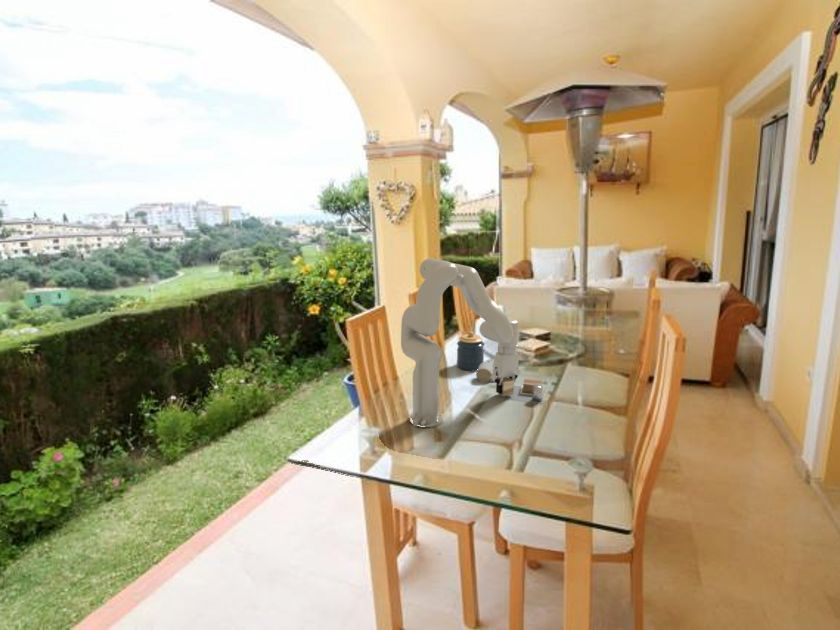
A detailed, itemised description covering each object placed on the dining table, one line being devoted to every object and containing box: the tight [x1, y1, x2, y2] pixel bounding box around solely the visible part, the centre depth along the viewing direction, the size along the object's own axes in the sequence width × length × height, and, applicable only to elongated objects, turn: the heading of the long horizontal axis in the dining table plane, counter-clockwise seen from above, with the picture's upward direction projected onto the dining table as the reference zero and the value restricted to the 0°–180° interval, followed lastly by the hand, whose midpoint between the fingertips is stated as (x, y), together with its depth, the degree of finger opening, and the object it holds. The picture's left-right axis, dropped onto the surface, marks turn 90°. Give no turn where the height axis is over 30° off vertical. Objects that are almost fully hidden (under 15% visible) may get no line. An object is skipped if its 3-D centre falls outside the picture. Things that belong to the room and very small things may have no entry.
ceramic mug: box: [475, 361, 497, 383], centre depth 217 cm, size 11×8×8 cm
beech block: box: [496, 377, 515, 397], centre depth 199 cm, size 5×5×6 cm
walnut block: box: [522, 377, 543, 394], centre depth 204 cm, size 7×7×4 cm
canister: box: [456, 331, 485, 372], centre depth 233 cm, size 13×13×18 cm
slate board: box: [496, 385, 545, 405], centre depth 203 cm, size 18×18×1 cm
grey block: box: [532, 384, 544, 402], centre depth 195 cm, size 4×4×6 cm
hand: (504, 391), depth 199 cm, fingers closed on beech block, 5 cm apart
